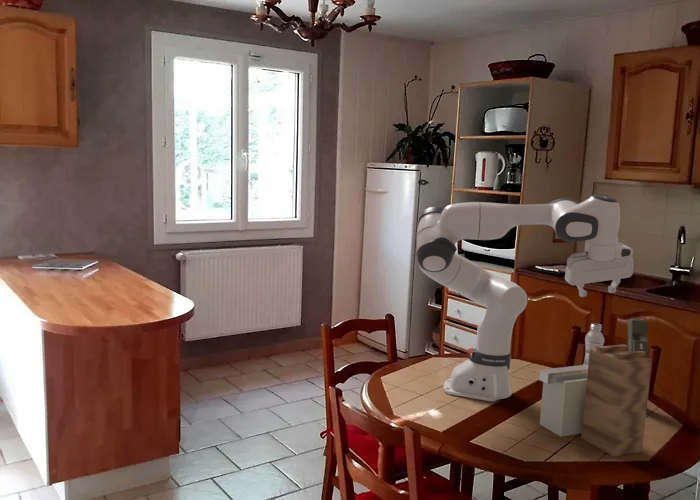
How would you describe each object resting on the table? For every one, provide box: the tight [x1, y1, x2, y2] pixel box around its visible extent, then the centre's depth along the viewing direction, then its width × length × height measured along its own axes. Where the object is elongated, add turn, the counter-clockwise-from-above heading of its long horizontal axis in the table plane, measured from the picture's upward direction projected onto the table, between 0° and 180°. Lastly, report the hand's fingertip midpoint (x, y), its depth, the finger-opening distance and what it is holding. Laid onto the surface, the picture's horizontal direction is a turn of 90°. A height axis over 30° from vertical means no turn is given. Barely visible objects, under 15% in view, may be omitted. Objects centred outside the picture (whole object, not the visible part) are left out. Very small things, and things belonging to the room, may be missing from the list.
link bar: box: [538, 364, 588, 384], centre depth 181 cm, size 19×4×3 cm, turn 113°
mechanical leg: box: [626, 317, 649, 358], centre depth 202 cm, size 14×7×30 cm, turn 169°
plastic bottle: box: [582, 322, 605, 365], centre depth 230 cm, size 6×7×20 cm
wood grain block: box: [580, 343, 653, 458], centre depth 172 cm, size 10×12×27 cm
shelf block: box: [539, 378, 587, 437], centre depth 183 cm, size 12×9×16 cm
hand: (597, 294), depth 186 cm, fingers open, 8 cm apart
